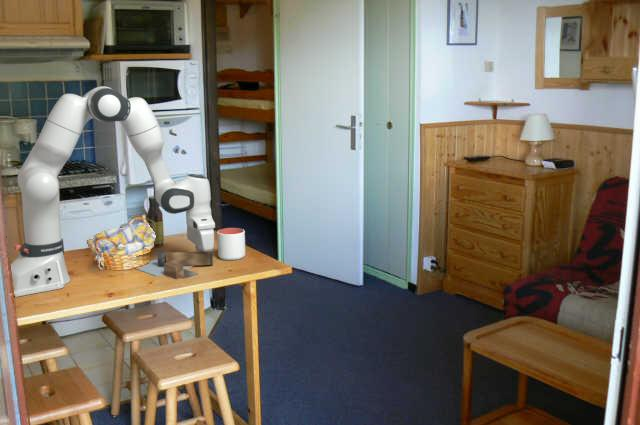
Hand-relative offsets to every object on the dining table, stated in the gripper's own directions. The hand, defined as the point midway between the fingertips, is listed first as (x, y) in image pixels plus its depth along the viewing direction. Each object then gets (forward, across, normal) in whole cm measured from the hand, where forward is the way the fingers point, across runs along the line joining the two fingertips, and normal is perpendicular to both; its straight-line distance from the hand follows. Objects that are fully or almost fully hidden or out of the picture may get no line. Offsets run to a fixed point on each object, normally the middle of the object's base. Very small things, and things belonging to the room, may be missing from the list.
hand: (200, 257), depth 253 cm
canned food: (+2, -24, -19) cm, 31 cm away
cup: (+2, -1, +12) cm, 13 cm away
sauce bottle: (+2, -30, -8) cm, 31 cm away
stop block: (+2, +11, -10) cm, 15 cm away
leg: (+1, +1, -6) cm, 6 cm away
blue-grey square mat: (+2, -2, -13) cm, 14 cm away
